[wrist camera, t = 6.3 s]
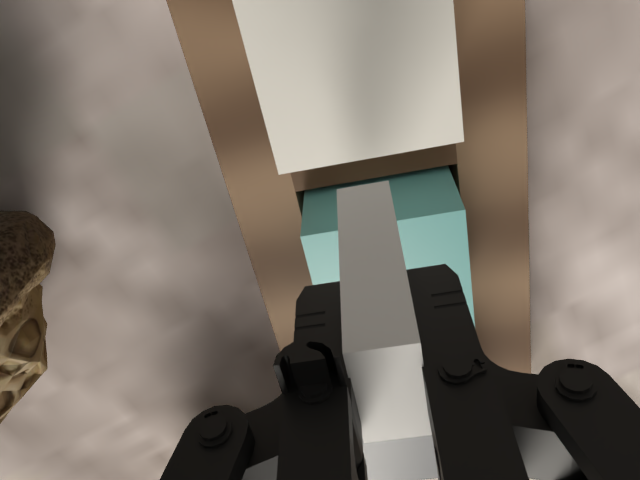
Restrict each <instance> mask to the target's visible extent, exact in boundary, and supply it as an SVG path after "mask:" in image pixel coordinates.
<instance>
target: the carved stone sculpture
mask: <svg viewBox="0 0 640 480" xmlns="http://www.w3.org/2000/svg"><path fill="white" fill-rule="evenodd" d="M54 249H55V239H54V233H53V231H52V230H51V229H50V228H49V227H47V226H46V225H45V224H44V223H43V222H42V221H41V220H40V219H39V218H38V217H37V216H35V215H33V214H31V213H29V212H26V211H0V424H1V422H2V421H3V420H4V418H5V417H6V415H7V414H8V413H9V411H10V410H11V409H12V407H13V406H14V405H15V404H16V403H17V402H18V401H19V400H20V399H21V398H22V397H23V396H24V395H25V393H26V392H27V391H28V390H29V389H30V388H31V386H32V385H33V384H34V383H35V382H36V381H37V379H38V378H39V377H40V376H41V375H42V374H43V373H44V372H45V371H46V370H47V351H46V340H45V335H46V329H47V323H46V321H45V319H44V317H43V309H42V288H43V287H42V286H41V285H40V284H39V283H41V282H42V281H43V280H44V278H45V277H46V276H47V275H48V274H49V273H50V268H51V263H52V259H53V254H54Z"/></svg>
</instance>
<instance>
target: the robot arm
mask: <svg viewBox="0 0 640 480" xmlns="http://www.w3.org/2000/svg"><path fill="white" fill-rule="evenodd" d="M337 216H338V244H339V272H340V281H337V282H330V283H323V284H317V285H310V286H305V287H304V289H303V290H302V292H301V294H300V295H299V297H298V298H297V300H296V310H295V326H294V328H295V331H294V341H293V342H292V343H291V344H289V345H287V346H286V347H284V348H283V349H282V350H281V352H280V353H279V354H278V355H277V356H276V359H275V362H274V365H273V367H274V370H275V373H276V376H277V379H278V382H279V385H280V388H281V391H282V394H281V395H280V396H279V397H278V398H276V399H275V400H274V401H273V402H271V403H269V404H267V405H265V406H263V407H261V408H258V409H256V410H254V411H251V412H249V413H246V414H244V413H243V412H242V411H241V410H240V409H239V408H237V407H233V406H229V405H222V406H214V407H212V408H209V409H207V410H205V411H203V412H201V413H200V414H199V415H197V416H196V417H195V418H194V419H192V421H191V422H190V423H189V425H188V426H187V428H186V429H185V431H184V433H183V435H182V437H181V439H180V441H179V443H178V445H177V447H176V448H175V450H174V452H173V454H172V456H171V458H170V460H169V462H168V464H167V466H166V468H165V470H164V472H163V474H162V476H161V478H160V480H368V476H367V465H366V461H365V457H364V453H363V441H364V443H368V442H377V441H385V440H394V439H402V438H411V437H419V436H427V435H432V437H433V443H434V450H435V458H436V465H437V472H438V480H529V478H530V479H535V480H640V408H639V407H638V406H637V405H636V404H635V402H634V401H633V400H632V399H631V398H630V397H629V396H628V395H627V394H626V393H625V392H624V391H623V389H622V388H621V387H620V386H619V385H618V384H617V383H616V382H615V381H614V380H613V379H612V378H611V376H610V375H609V374H607V373H606V372H605V371H603V370H602V369H601V368H600V367H598V366H596V365H594V364H591V363H589V362H586V361H584V360H575V359H564V360H558V361H554V362H552V363H550V364H548V365H547V366H545V367H544V368H543V369H542V370H541V372H540V373H539V375H537V374H529V373H521V372H516V371H511V370H507V369H505V368H503V367H500V366H498V365H497V364H495V363H494V362H492V361H491V360H490V359H489V358H488V357H487V356H486V355H485V354H484V352H483V350H482V348H481V345H480V342H479V339H478V336H477V333H476V330H475V326H474V323H473V320H472V317H471V314H470V311H469V308H468V305H467V301H466V298H465V295H464V293H463V289H462V286H461V283H460V279H459V276H458V275H457V274H456V273H455V272H454V271H453V270H452V269H451V268H450V267H449V266H447V265H446V264H440V265H434V266H427V267H421V268H414V269H407V270H406V266H405V261H404V256H403V251H402V246H401V241H400V236H399V231H398V226H397V221H396V215H395V210H394V205H393V200H392V195H391V190H390V185H389V180H388V181H382V182H376V183H370V184H364V185H358V186H353V187H347V188H341V189H337ZM362 437H363V440H362Z"/></svg>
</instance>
